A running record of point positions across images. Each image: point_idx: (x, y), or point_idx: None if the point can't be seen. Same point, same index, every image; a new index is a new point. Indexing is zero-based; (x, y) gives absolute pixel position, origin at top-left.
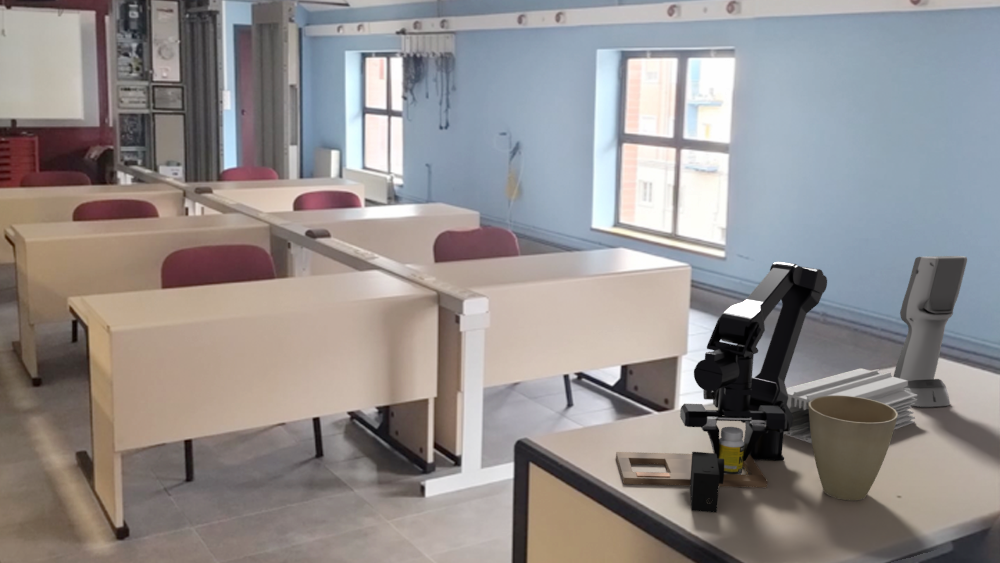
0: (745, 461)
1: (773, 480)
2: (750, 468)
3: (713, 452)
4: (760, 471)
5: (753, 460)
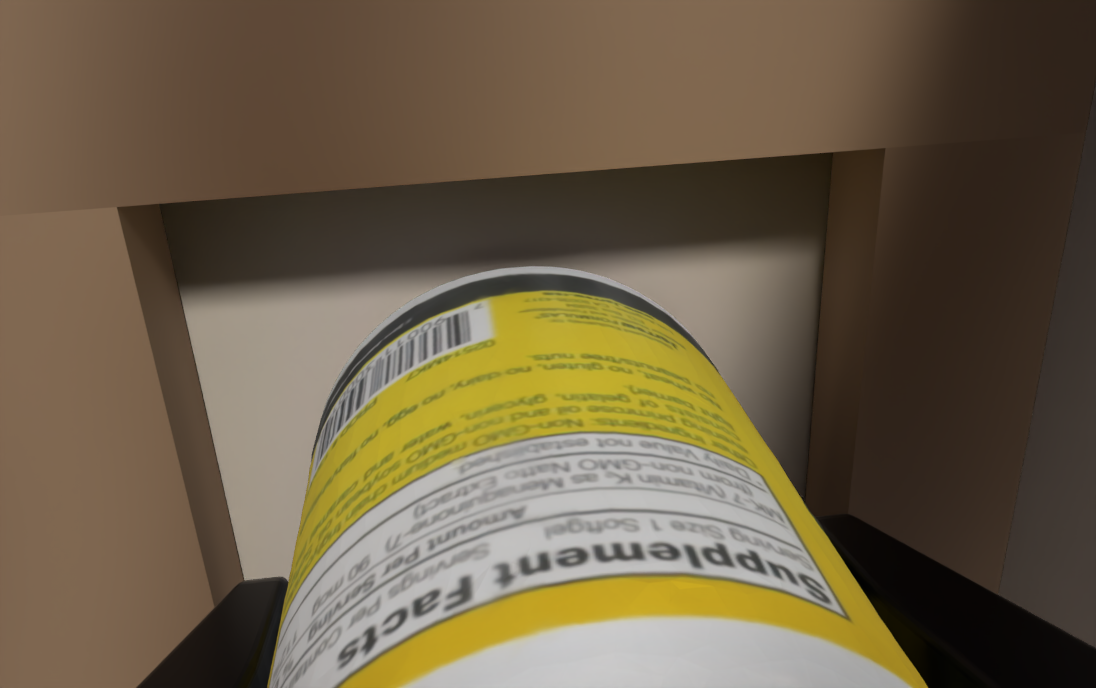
0: (903, 186)
1: (1082, 566)
2: (879, 488)
3: (171, 660)
4: (991, 576)
5: (1080, 108)
